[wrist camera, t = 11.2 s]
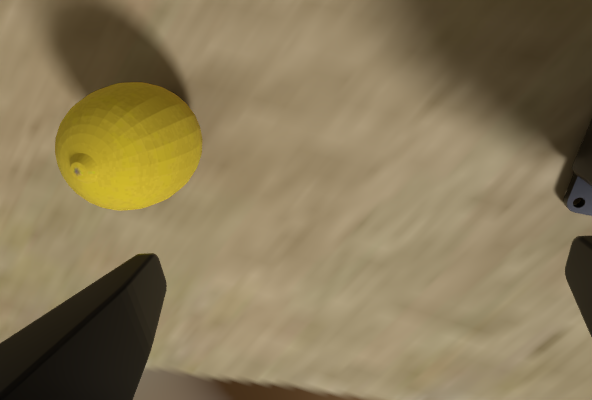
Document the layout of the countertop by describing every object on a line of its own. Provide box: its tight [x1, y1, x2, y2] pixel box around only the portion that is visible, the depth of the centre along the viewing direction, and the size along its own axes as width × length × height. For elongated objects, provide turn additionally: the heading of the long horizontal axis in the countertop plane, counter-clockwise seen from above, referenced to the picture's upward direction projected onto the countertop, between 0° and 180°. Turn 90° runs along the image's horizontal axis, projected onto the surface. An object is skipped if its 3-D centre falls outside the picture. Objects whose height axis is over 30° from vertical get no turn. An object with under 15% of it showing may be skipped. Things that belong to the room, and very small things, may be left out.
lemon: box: [55, 82, 202, 210], centre depth 19 cm, size 6×6×8 cm
